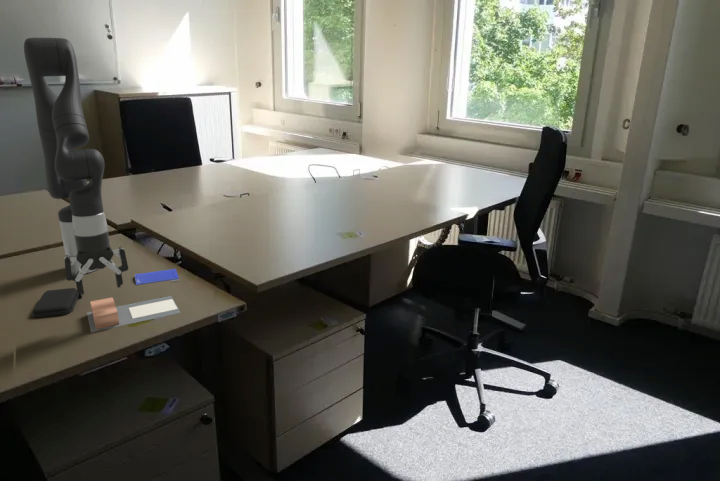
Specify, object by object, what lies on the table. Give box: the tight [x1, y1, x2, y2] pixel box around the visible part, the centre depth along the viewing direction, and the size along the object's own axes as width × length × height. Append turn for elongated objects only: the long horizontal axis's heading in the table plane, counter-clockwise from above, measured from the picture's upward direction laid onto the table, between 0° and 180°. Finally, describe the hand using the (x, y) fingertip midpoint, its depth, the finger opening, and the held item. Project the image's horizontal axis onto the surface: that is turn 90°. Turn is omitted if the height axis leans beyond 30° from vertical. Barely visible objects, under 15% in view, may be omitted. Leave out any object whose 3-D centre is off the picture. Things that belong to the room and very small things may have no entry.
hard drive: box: [134, 268, 180, 286], centre depth 166 cm, size 2×8×12 cm
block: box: [89, 296, 119, 329], centre depth 140 cm, size 10×6×4 cm, turn 30°
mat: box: [86, 295, 182, 333], centre depth 144 cm, size 12×22×1 cm, turn 120°
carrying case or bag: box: [31, 287, 83, 319], centre depth 147 cm, size 11×3×15 cm
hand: (100, 290), depth 137 cm, fingers open, 8 cm apart
